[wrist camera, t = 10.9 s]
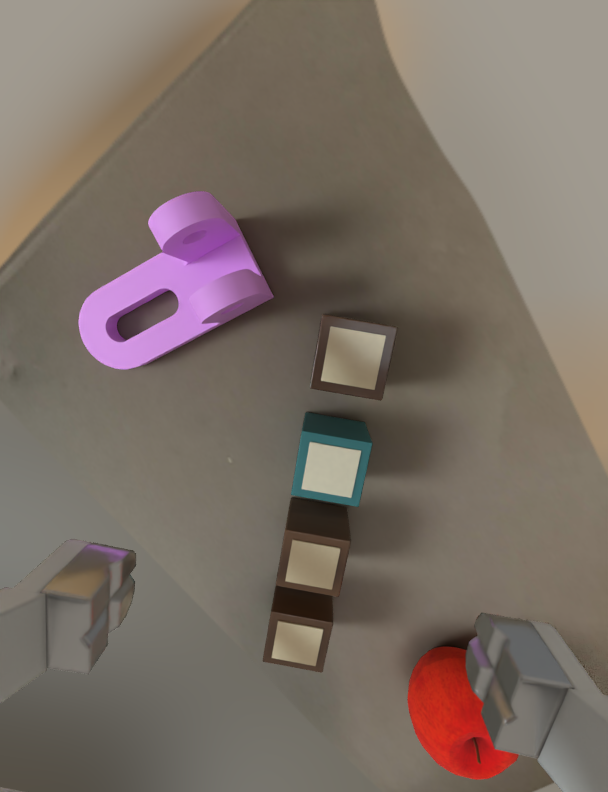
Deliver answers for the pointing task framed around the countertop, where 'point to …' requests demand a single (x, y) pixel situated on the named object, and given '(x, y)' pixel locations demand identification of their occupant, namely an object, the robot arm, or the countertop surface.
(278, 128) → the countertop surface
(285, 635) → the block
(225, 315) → the bracket
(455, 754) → the apple
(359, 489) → the letter block
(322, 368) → the block
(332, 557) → the block
